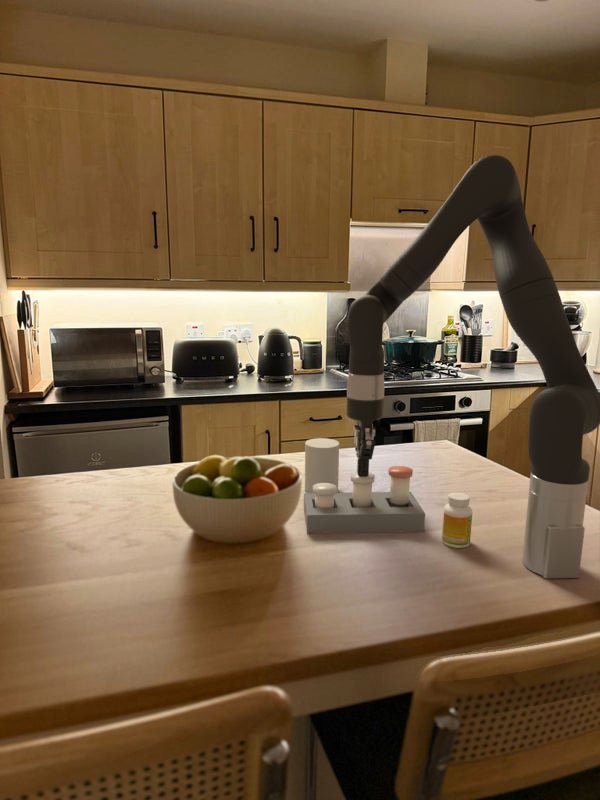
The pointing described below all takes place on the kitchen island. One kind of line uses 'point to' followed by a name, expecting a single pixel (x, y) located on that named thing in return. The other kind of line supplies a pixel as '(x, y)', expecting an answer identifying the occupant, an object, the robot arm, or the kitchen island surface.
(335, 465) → the white cylinder
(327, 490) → the far plunger
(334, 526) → the panel
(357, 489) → the mid plunger
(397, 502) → the red plunger
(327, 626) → the kitchen island surface
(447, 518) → the supplement bottle
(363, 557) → the kitchen island surface
